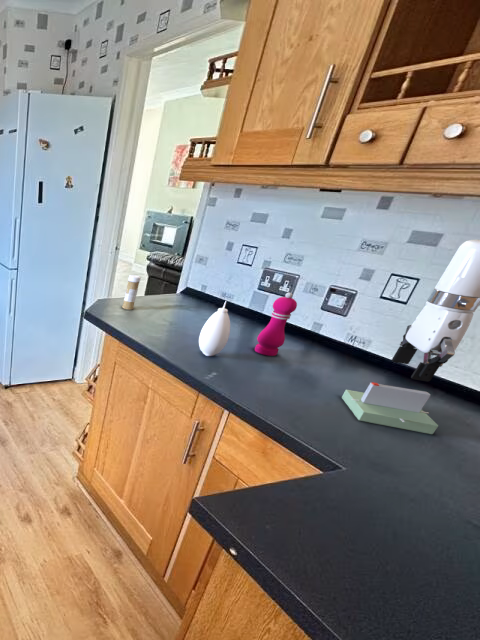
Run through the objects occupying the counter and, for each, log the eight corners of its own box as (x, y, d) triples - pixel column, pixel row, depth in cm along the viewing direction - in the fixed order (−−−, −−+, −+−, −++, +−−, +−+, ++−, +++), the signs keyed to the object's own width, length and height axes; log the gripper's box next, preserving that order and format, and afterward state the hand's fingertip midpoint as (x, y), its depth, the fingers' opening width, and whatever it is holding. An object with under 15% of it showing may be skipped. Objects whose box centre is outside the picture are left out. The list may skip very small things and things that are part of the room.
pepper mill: (257, 355, 133) (281, 294, 124) (249, 346, 139) (272, 288, 130) (282, 357, 132) (308, 297, 122) (273, 349, 138) (298, 290, 128)
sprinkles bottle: (121, 306, 175) (128, 274, 168) (133, 307, 174) (140, 275, 167) (122, 309, 171) (129, 276, 164) (134, 310, 170) (141, 277, 163)
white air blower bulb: (192, 348, 137) (209, 295, 128) (218, 351, 135) (237, 298, 126) (196, 358, 130) (214, 302, 121) (224, 361, 128) (244, 305, 120)
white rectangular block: (415, 409, 101) (428, 391, 98) (419, 412, 100) (431, 394, 97) (360, 399, 104) (370, 381, 102) (363, 402, 103) (373, 384, 101)
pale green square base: (407, 406, 107) (413, 398, 106) (439, 438, 95) (446, 429, 93) (336, 394, 112) (341, 385, 111) (358, 423, 99) (363, 414, 98)
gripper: (503, 315, 81) (450, 391, 89) (453, 292, 95) (411, 359, 103) (454, 309, 83) (406, 383, 91) (411, 288, 97) (374, 353, 106)
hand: (409, 370), depth 97 cm, fingers open, 9 cm apart
